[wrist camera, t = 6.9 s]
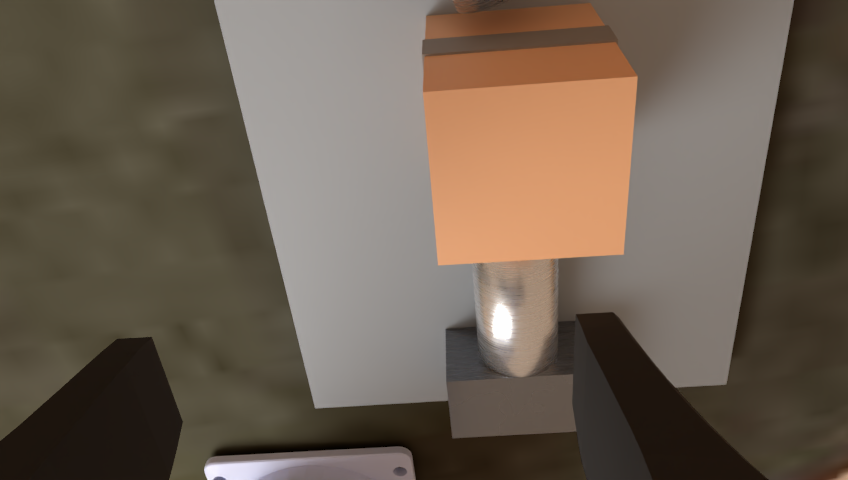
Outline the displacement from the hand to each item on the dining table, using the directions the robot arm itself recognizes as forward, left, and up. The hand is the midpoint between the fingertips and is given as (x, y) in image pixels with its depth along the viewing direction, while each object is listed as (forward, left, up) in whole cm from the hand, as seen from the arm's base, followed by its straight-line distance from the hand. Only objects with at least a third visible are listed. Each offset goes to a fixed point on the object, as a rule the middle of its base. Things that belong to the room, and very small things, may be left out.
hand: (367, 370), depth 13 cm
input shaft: (-5, -3, -10) cm, 12 cm away
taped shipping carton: (+1, -3, -9) cm, 9 cm away
